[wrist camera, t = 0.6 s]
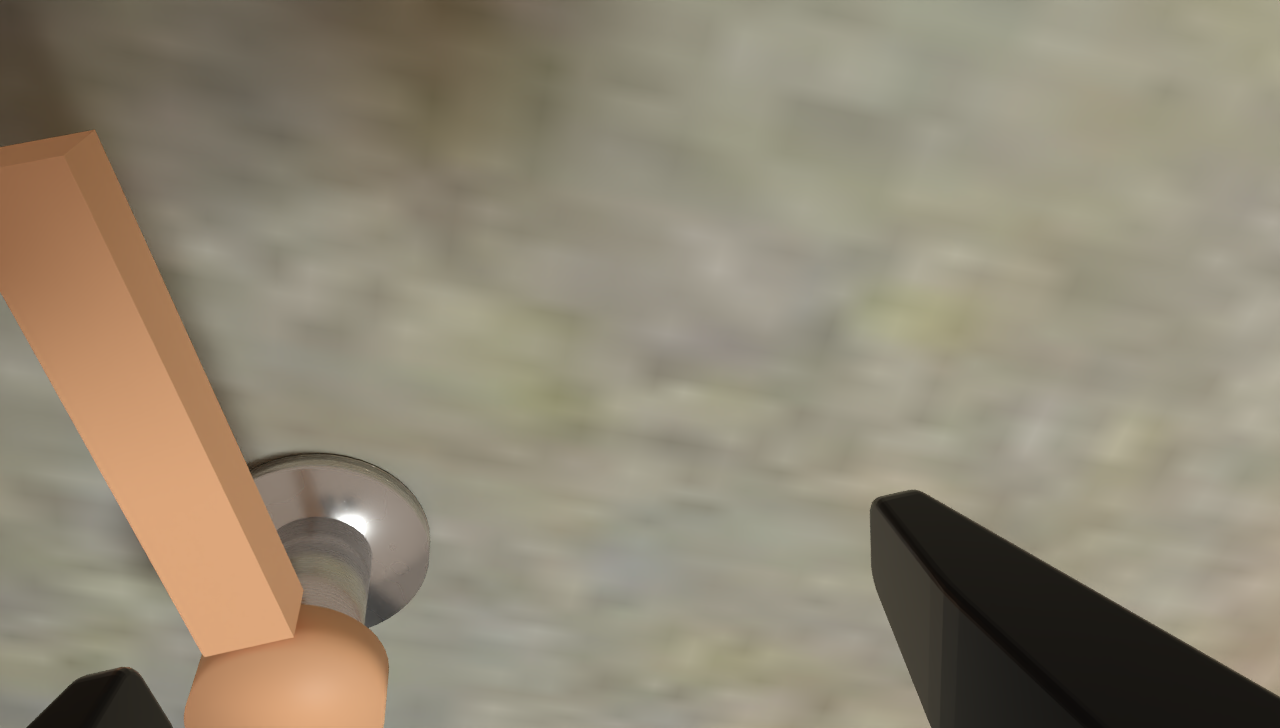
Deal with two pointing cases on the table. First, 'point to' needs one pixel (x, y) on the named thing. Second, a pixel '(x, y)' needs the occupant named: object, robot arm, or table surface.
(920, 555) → the robot arm
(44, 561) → the table surface
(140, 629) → the table surface
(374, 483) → the post
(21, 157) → the lever
